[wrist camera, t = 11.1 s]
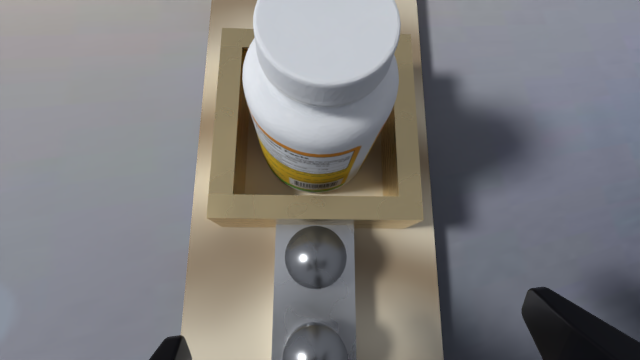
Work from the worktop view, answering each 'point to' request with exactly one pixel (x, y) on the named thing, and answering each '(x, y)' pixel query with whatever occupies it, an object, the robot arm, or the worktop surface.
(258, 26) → the supplement bottle
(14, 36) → the worktop surface
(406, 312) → the board
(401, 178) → the bottle holder fixture
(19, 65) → the worktop surface
